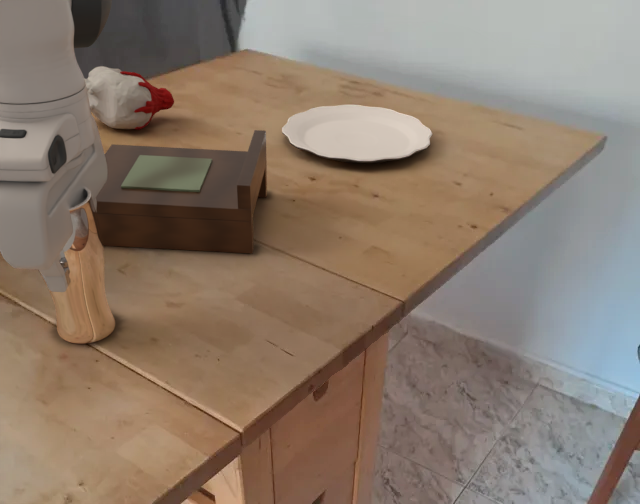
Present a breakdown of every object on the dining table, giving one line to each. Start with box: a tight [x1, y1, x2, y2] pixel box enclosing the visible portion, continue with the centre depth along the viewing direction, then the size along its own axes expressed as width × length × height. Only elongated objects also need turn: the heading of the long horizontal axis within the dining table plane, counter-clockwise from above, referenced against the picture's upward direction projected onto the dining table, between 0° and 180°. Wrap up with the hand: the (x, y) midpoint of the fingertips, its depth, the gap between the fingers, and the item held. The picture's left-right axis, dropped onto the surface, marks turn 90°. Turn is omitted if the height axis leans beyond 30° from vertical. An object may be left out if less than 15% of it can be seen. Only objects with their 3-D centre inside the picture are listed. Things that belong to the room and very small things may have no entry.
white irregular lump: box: [84, 65, 175, 131], centre depth 116 cm, size 9×11×15 cm
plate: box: [281, 104, 433, 164], centre depth 116 cm, size 25×25×2 cm
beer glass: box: [38, 187, 116, 345], centre depth 70 cm, size 7×7×15 cm
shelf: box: [96, 129, 268, 254], centre depth 91 cm, size 22×18×9 cm
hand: (75, 263), depth 70 cm, fingers open, 8 cm apart
